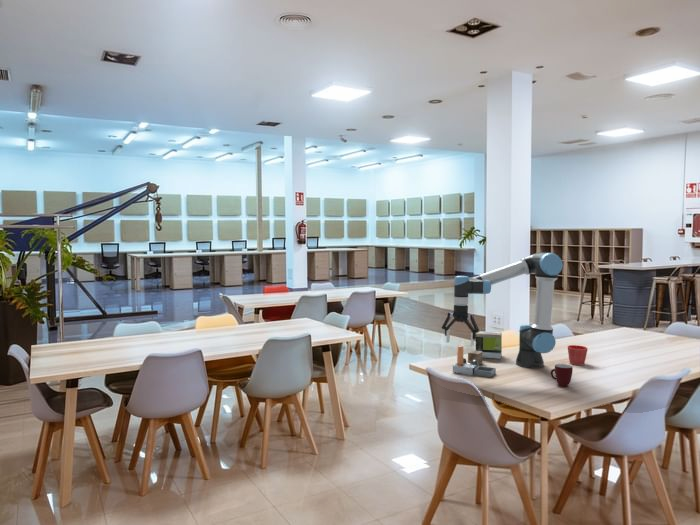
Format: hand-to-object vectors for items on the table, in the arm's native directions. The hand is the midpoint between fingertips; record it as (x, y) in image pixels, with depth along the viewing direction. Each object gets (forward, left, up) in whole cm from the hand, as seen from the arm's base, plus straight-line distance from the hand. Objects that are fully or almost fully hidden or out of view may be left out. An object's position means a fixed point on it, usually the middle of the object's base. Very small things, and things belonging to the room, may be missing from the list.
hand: (459, 343), depth 281 cm
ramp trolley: (-3, -3, -15) cm, 16 cm away
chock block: (-2, -22, -16) cm, 27 cm away
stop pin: (0, 0, -16) cm, 16 cm away
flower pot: (-52, -53, -16) cm, 76 cm away
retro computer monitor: (-3, -44, -16) cm, 47 cm away
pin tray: (-13, -2, -16) cm, 20 cm away
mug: (-51, -1, -16) cm, 54 cm away
